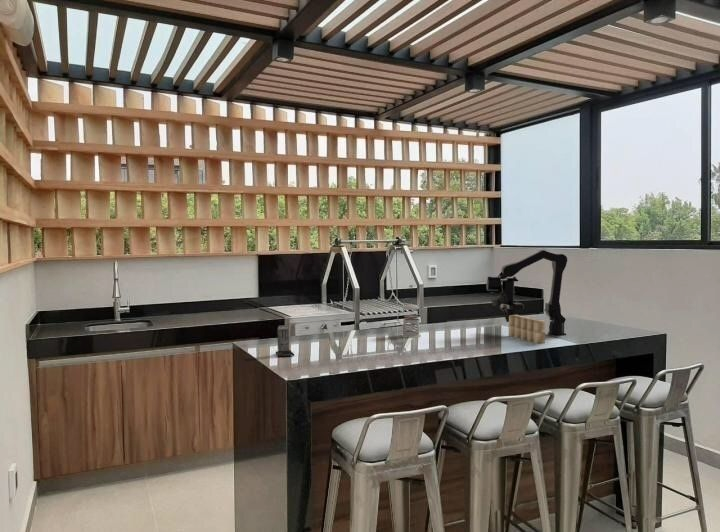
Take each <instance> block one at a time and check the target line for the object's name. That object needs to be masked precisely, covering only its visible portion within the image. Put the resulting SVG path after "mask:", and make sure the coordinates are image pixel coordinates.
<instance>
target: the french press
mask: <svg viewBox="0 0 720 532" xmlns="http://www.w3.org/2000/svg"><path fill="white" fill-rule="evenodd" d="M408 287H409V288H414V285H413V284H410V285H409V286H408ZM402 309H403V310H400V311H399V312H398V314H397V322H398V324H399V325H400V326H401V327H402V334H401V335H402V336H403V338H407V337H411V339H412V338H414V337H415V338H416V337H417V338H421V337H422V335H421V334H420V318H419V315H416V314H414V315H413V314H406V315H404V313H405V312H404V310H406V311H408V310H410V311H413V310H415V311H417V310H420V307H419V306H418V305H414V304H413V303H410V304H408V305H405V306H404V307H402ZM401 313H402V314H403V315H404V316H403V319H402V320H403V321H402V322H403V324H402V323H400V321H399V315H400V314H401ZM402 336H401V337H402Z"/></svg>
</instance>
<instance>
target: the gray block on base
mask: <svg viewBox="0 0 720 532" xmlns="http://www.w3.org/2000/svg"><path fill="white" fill-rule="evenodd" d="M277 349H278V350H277V351H275V353H274V354H275V355H276V356H278V357H282V356H283V357H284V356H292V357H293V356H295V354H294V352H293V351H292V350H290V334H289V327H288V325H284V324H283V325H278V327H277Z"/></svg>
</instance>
